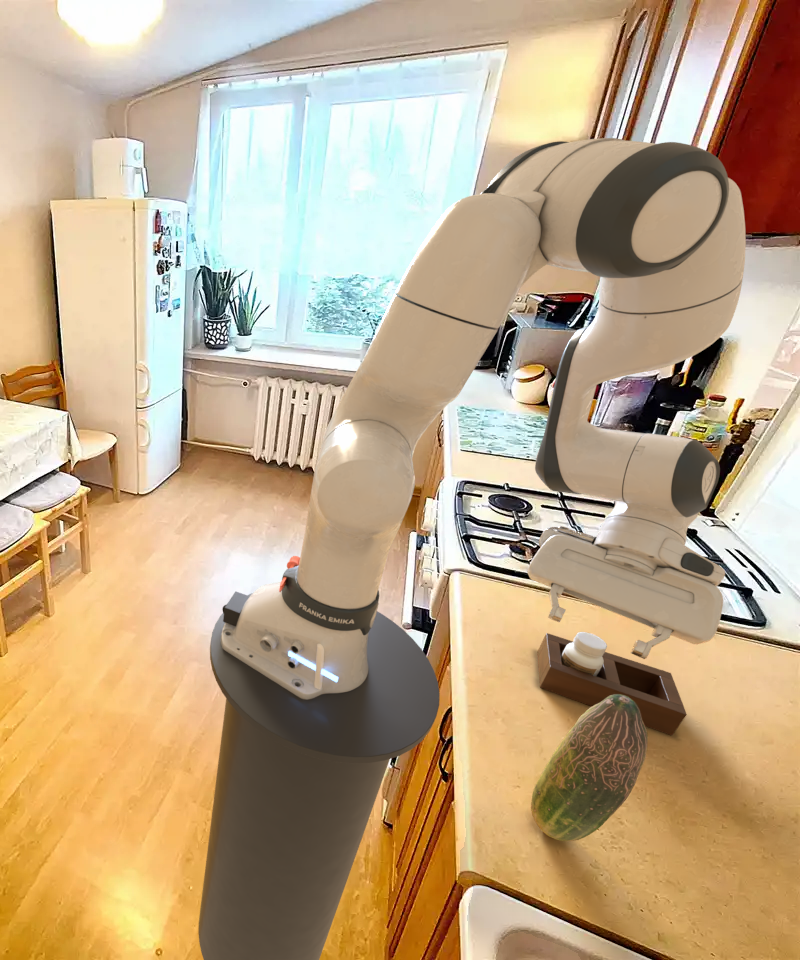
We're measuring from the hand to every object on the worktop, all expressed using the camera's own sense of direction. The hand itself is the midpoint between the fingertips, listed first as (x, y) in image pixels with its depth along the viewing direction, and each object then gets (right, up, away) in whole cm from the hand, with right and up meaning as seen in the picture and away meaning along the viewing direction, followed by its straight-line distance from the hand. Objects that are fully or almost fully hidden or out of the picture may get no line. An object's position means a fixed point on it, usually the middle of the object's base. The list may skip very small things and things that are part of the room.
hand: (594, 636), depth 71 cm
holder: (+3, -8, +3) cm, 9 cm away
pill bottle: (0, -8, +4) cm, 9 cm away
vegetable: (-17, -17, -14) cm, 27 cm away
